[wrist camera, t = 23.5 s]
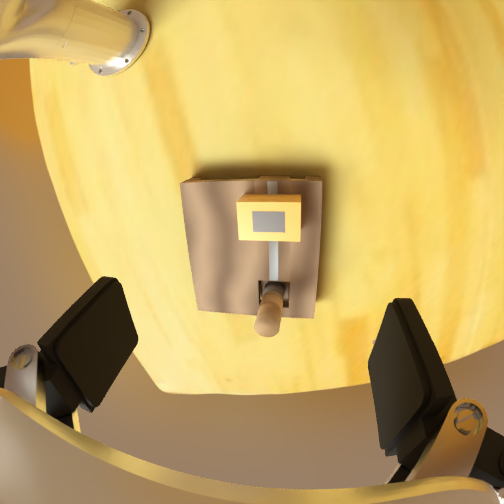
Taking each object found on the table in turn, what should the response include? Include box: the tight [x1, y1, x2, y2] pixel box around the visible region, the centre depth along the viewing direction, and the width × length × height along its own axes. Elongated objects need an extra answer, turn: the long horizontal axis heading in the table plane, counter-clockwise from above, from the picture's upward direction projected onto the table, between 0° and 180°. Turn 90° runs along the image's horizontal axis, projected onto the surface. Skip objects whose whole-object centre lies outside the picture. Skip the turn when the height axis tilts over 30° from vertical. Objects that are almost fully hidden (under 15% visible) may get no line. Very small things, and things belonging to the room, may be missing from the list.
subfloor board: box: [180, 176, 322, 319], centre depth 38 cm, size 18×20×4 cm
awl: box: [254, 281, 285, 337], centre depth 36 cm, size 3×3×9 cm
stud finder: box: [236, 194, 301, 242], centre depth 32 cm, size 7×4×4 cm, turn 93°
